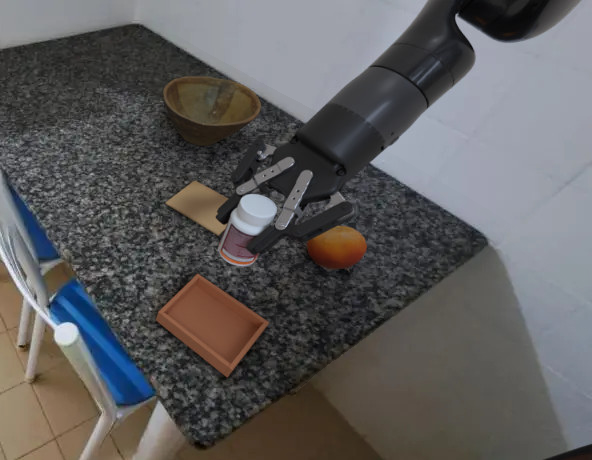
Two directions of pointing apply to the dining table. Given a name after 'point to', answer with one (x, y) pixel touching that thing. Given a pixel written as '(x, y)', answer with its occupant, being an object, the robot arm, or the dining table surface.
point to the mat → (199, 205)
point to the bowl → (209, 108)
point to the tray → (212, 323)
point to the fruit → (337, 248)
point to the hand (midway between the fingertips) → (234, 235)
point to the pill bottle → (246, 228)
